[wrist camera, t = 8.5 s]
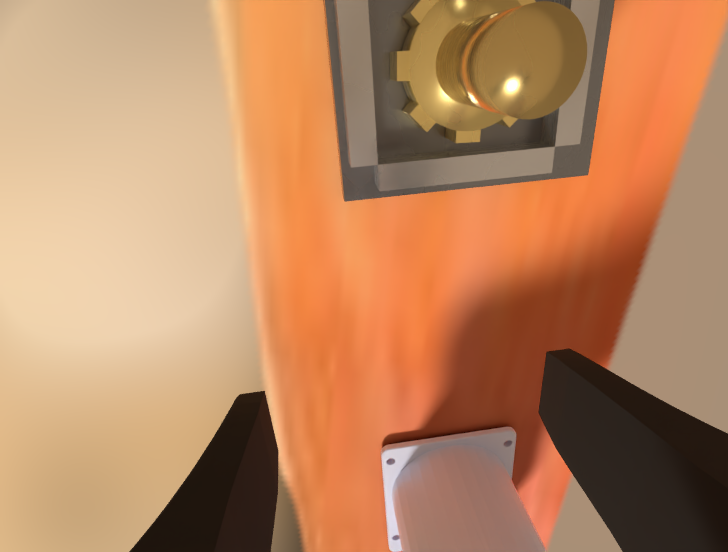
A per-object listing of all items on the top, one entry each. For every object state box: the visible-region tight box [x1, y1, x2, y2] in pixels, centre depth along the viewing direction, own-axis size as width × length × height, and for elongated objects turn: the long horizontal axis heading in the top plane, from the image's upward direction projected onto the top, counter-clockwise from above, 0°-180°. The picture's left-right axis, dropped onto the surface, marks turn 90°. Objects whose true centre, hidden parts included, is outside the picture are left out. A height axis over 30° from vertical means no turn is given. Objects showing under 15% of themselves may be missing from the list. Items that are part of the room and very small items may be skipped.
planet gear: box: [390, 0, 587, 143], centre depth 13 cm, size 5×5×6 cm
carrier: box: [323, 0, 615, 201], centre depth 14 cm, size 12×10×4 cm
